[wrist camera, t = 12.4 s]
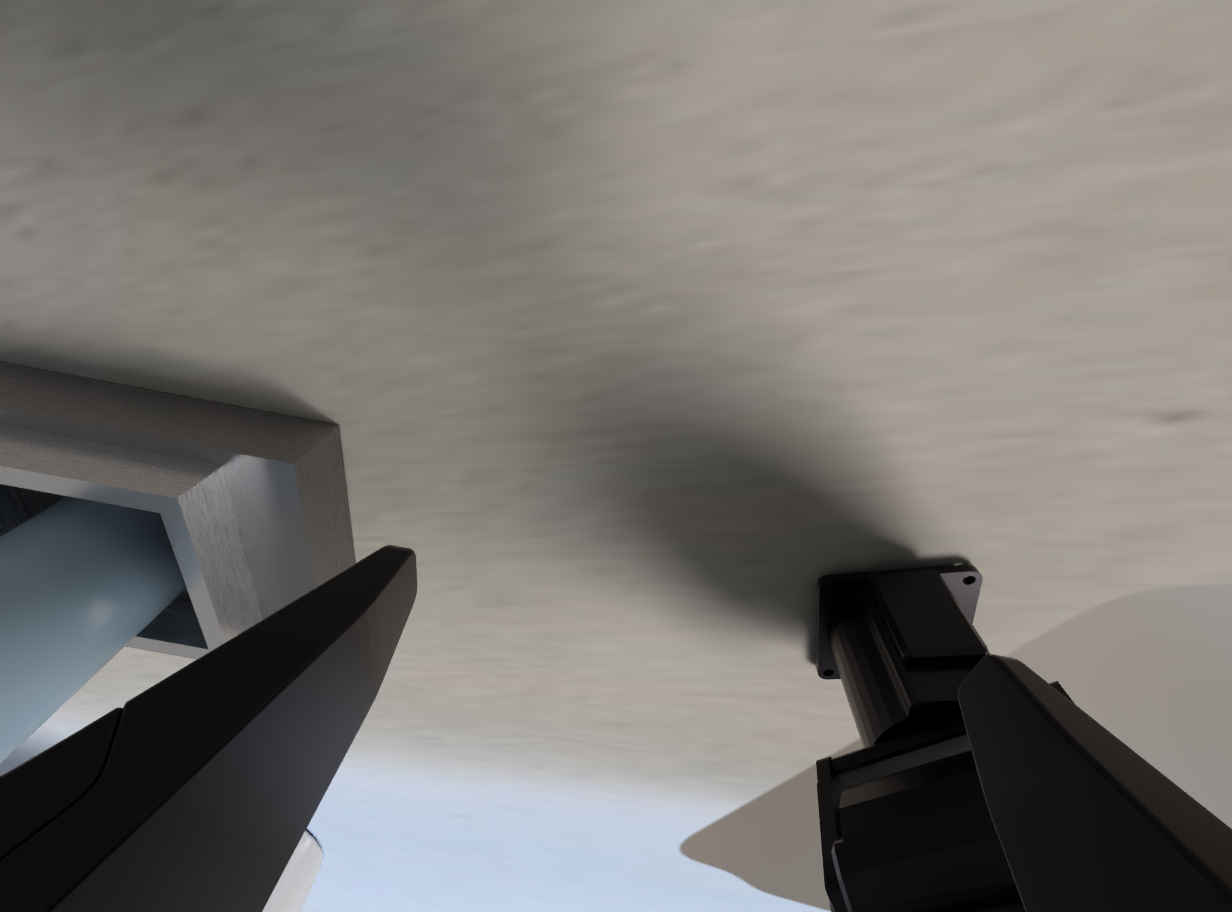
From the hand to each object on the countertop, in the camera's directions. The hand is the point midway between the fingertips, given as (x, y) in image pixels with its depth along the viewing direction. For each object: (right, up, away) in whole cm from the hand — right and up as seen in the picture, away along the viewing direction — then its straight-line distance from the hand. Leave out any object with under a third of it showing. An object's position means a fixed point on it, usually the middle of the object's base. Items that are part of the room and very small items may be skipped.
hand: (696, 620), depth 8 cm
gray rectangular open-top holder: (-20, +1, +15) cm, 25 cm away
